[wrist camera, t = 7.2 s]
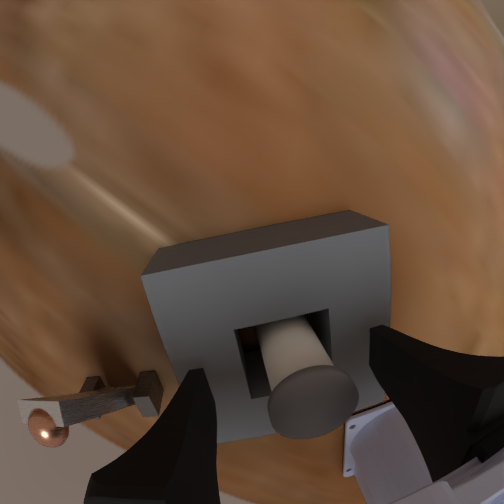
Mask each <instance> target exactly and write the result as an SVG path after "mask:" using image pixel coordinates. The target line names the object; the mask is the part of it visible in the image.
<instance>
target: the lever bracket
mask: <svg viewBox="0 0 504 504" xmlns="http://www.w3.org/2000/svg"><path fill="white" fill-rule="evenodd" d="M100 388H105V386H104V384H103V382H102V380H101V378H100V377H99V376H97V377H87V378H86V380H85V382H84V384H83V386H82V388H81V390H80V392H79V393H82V392H89V391H95V390H100ZM163 391H164V390H163V387H162V385H161V383H160V381H159V378H158V376H157V374H156V371H149V372H140V375H139V378H138V381H137V385H136V388H135V391H134V395H133V400H134V401H135V403H136V405H137V407H138V409H139V411H140V412H141V414H142V416H143V417H151V416H159V413H160V407H161V402H162V396H163ZM100 418H101V416H99V417H96V418H93V419H100Z"/></svg>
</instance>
